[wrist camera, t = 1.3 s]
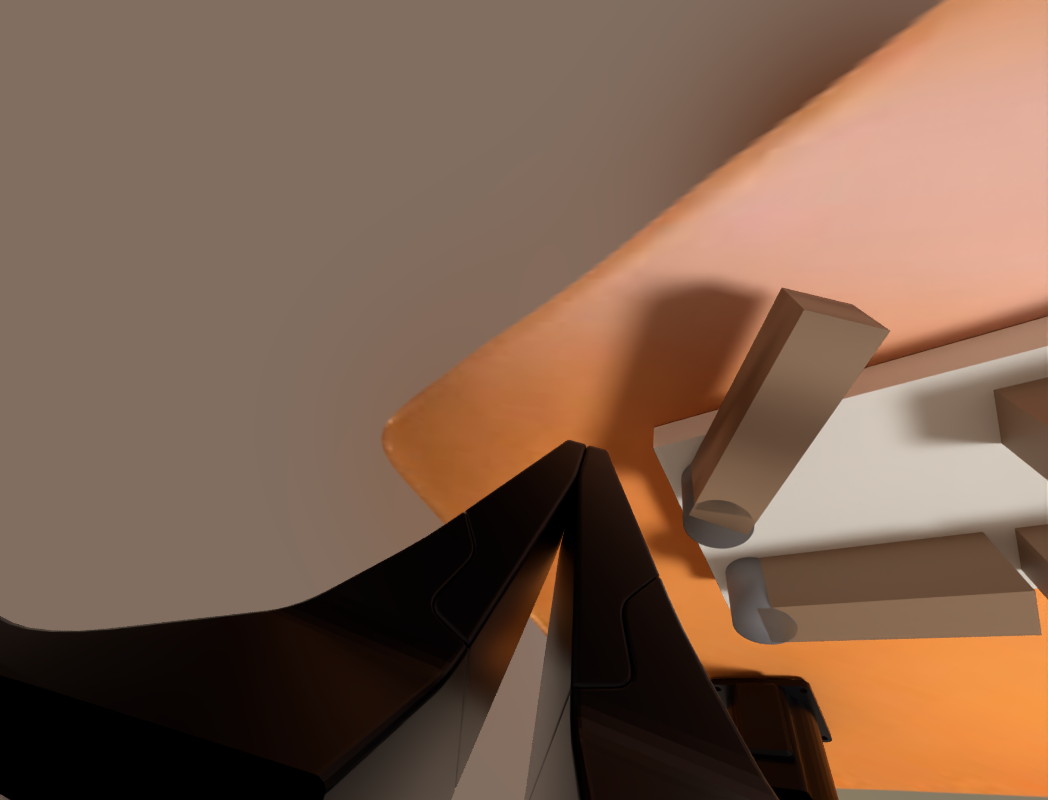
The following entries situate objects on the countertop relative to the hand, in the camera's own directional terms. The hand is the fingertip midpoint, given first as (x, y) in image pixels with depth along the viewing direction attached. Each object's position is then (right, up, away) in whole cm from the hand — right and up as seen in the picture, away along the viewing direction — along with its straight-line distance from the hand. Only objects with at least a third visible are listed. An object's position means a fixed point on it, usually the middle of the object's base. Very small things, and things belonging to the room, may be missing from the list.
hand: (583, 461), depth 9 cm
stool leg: (+9, +1, +9) cm, 13 cm away
